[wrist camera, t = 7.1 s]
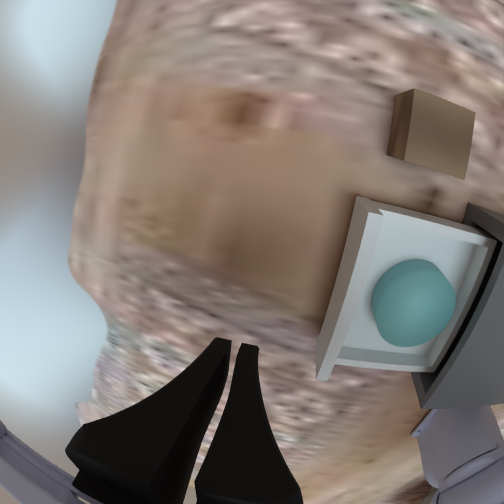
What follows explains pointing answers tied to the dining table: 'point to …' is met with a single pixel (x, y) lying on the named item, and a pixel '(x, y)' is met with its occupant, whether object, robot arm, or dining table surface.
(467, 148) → the walnut block
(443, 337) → the tray
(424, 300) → the teal round puck
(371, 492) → the dining table surface
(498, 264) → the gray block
